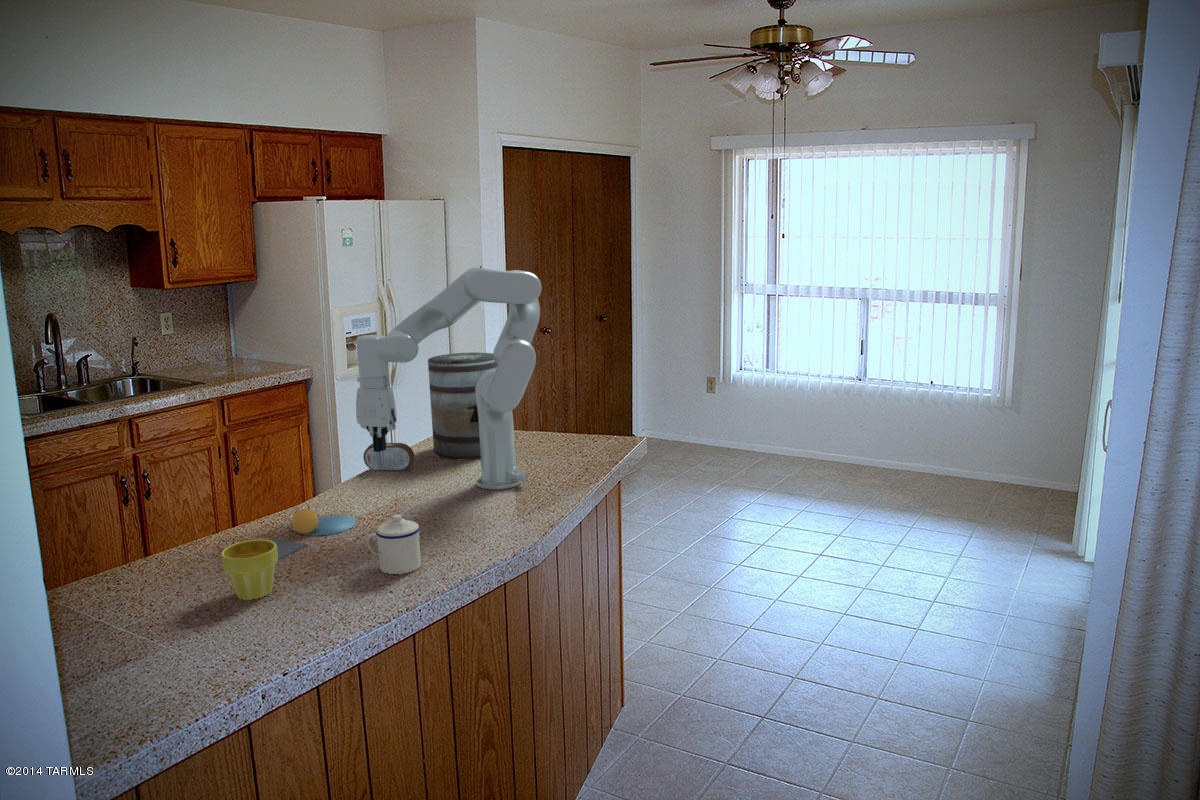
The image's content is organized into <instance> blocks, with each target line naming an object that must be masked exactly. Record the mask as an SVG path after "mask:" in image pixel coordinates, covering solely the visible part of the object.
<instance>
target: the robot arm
mask: <svg viewBox="0 0 1200 800" xmlns="http://www.w3.org/2000/svg"><path fill="white" fill-rule="evenodd" d="M542 288H543V287H542V282H541V280H540V279H539V277H538V276H537V275H536V274H534V273H533V272H531V271H525V270H521V269H512V270H498V269H497V270H496V269H489V268H483V267H471V268H469V269H467V270H466V271H464V272H463V273H462V274H461V275H460V276H458V277H457V278H456V279H455V280H453V281H452V282H451V283H450V284H449V285H447V287H445V288H444V289H443V290H441V292H439V293H438V294H437V295H436V296H434V297H433V298H432V299H431V300H429V301H428V302H426V303H425V304H424V305H422V306H421V307H420V308H418V309H417V310H415V311H413V312H412V313H411V314H409V315H408V316H406V317H405V318H404V319H403V320H402V321H400V323H398V324H397V325H396V326H395V327H393V329H391V330H390V331H389V332H388V333H387V334H386V335H385V336H383V335H381V334H365V335H361V336H359V337H357V339H356V354H357V366H358V377H357V378H356V381H357V382H358V383H359V387H357V390H356V391H357V392H356V398H355V400H356V402H355V413H356V414H355V415H356V422H357V424H358V425H359V426H360V427H361V429H365V430H367V432H368V433H369V436H370V437H371V438H372V444H373V448H374V452H381V451H384V450H386V443H387V440H386V436H387V435H388V433H389V432H392V431H394V430H396V429H397V427H396V423H397V408H396V400H395V396H394V395H395V394H394V392H393V389H392V387H391V385H390V384H391V383H390V372H389V363H400V364H401V363H402V364H403V363H409V362H412V361H413V360H414V359H415V358H417V356H418V353H419V343H421V342H422V341H424V339H426V338H427V337H429V336H431V335H432V334H433V333H435V332H437V331H439V330H443V329H447V328H449V327H451V326H452V325H454V324H456V323H457V322H458V321H459V320H461V319H462V317H463V316H465V315H466V314H467V313H468V312H470V311H471V310H472V309H473V308H474V307H476V306H477V305H478V304H479V303H481V302H485V303H492V304H493V303H494V304H508V314H507V317H506V319H505V324H504V326H503V327H502V331H501V333H500V336H499V337H498V340H497V341H496V344H495V346H494V349H493V353H492V354H493V358H494V361H495V362H496V364H497V365H498V366H497V369H496V371H495V372H487V373H485V374H483V375H482V376H481V377H480V378H479V379H478V381H477V383H476V387H475V396H476V403H477V409H478V419H479V436H480V454H481V458H480V471H481V476H480V477H478V478H477V479H476V481H475V482H476V486H477V487H479V488H482V489H484V490H505V489H513V488H515V487H517V486H519V485H520V484H522V482H526V481H527V480H528V479H527V478H528V473H527V472H523V471H522V472H521V471H520V467H519V466H516V453H515V434H514V433H515V430H514V429H515V428H514V427H515V426H514V425H515V424H514V416H513V415H514V414H513V410H514V409H515V408H516V407H518V405H519V403H520V402H521V400H522V398H523V396H524V393H525V392H526V388H527V387H528V384H529V382H530V379H531V377H532V375H533V372H534V370H535V366H536V361H537V355H536V351H535V348H534V347H533V345H532V342H533V339H534V336H535V333H536V331H537V328H538V325H539V322H540V317H541V308H540V307H541V306H540V301H539V297H540V296H541V293H542Z"/></svg>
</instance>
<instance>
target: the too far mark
mask: <svg viewBox="0 0 1200 800" xmlns="http://www.w3.org/2000/svg"><path fill="white" fill-rule="evenodd" d="M271 541H273V542H275V543H276V545H277V552H278V559H279V560H281V559H283V558H285V557H286V556H289V555H291V554H293V553H295V552H297V551H299V550H301V549H303V547H304V548H305V546H306V547H307V545H308V546H309V544H306V543H301V542H295V541H290V540H284V539H278V538H274V539H272V540H271ZM294 551H295V552H294ZM280 558H281V559H280Z"/></svg>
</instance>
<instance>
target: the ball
mask: <svg viewBox="0 0 1200 800" xmlns="http://www.w3.org/2000/svg"><path fill="white" fill-rule="evenodd" d="M318 517H319V516H318V514H317V513H316V512H315V511H314V510H313V509H310V508H302V509H299V510H298V511H296V512H295V513H294V515H293V517H292V519H291V521H292V522H291V525H292V527H293V529H294V530H295V531H296V532H298V533H299V534H300V533H301V535H303V534H308V533H311V532H313V531H314V530H315V529H316V528H317V526H318V522H319V520H318Z"/></svg>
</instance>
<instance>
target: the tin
mask: <svg viewBox="0 0 1200 800" xmlns="http://www.w3.org/2000/svg"><path fill="white" fill-rule="evenodd" d="M363 461H364V464H365V466H366V467H367V468H369V469H370V470H371V471H375V472H405V471H406V470H408V469H409V468H410V467H412V466H413V464H414V463H415V452H414V450H413V449H412V448H411V446H410V445H408V444H407V443H402V442H386V450H384V451H381V452H374V448H373V443H371V444H369V445H368V446H367V447H366V449H365V451H364V452H363Z"/></svg>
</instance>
